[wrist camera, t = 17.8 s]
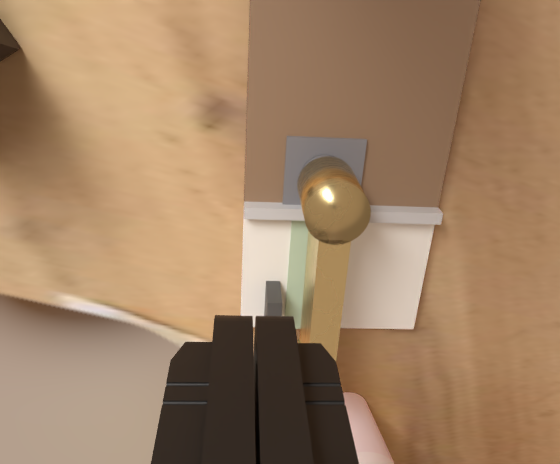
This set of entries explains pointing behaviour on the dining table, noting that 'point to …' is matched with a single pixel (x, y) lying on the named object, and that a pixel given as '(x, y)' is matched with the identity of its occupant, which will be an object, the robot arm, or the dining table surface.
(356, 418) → the smoothie
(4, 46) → the phone stand
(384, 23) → the door mockup
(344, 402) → the robot arm
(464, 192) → the dining table surface
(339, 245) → the swing bar
